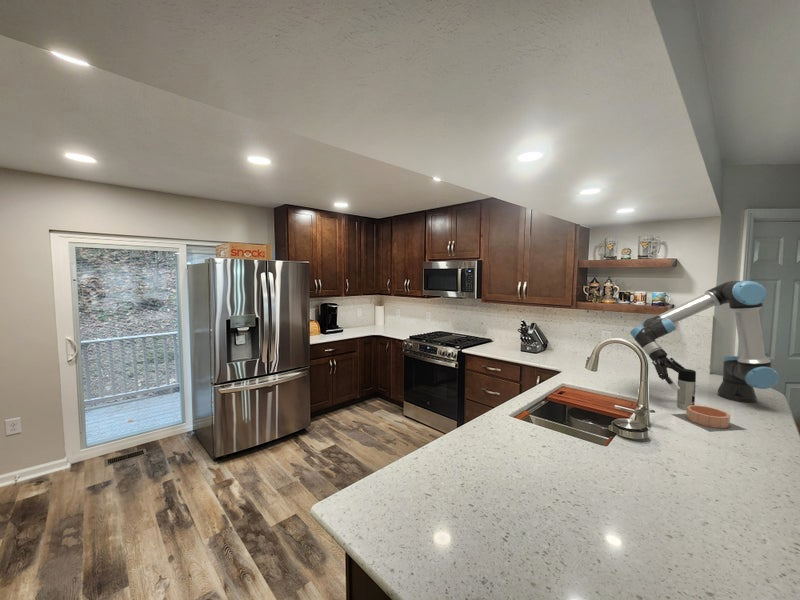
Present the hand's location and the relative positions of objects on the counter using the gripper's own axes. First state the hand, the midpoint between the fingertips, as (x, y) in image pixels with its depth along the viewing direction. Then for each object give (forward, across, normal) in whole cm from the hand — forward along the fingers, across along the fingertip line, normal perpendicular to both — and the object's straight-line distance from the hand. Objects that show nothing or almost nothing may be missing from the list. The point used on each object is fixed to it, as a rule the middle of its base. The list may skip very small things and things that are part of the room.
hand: (686, 388), depth 164 cm
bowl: (+17, +8, +2) cm, 19 cm away
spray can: (+8, 0, -8) cm, 11 cm away
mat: (+17, +8, +2) cm, 19 cm away
